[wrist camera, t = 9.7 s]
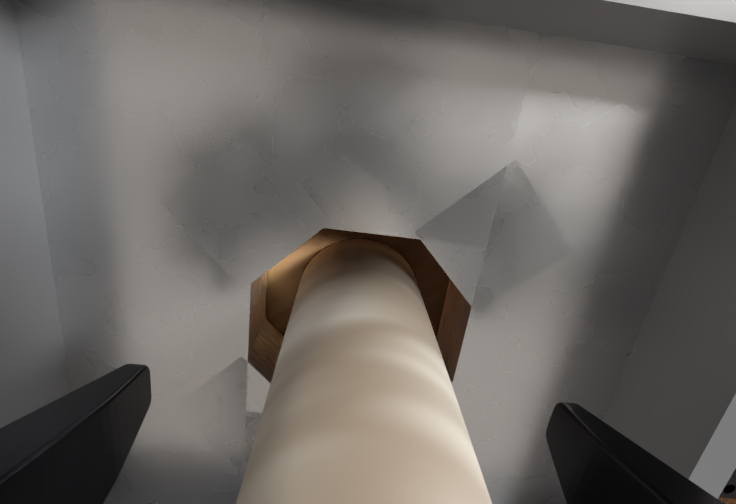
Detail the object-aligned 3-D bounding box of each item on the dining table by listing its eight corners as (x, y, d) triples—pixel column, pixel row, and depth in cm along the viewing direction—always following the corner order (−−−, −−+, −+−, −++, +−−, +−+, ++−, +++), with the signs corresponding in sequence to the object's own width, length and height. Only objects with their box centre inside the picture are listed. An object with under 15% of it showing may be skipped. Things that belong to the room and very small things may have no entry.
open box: (718, 39, 11) (1019, -9, 6) (538, 503, 18) (615, 670, 12) (35, -74, 10) (-301, -254, 5) (103, 473, 16) (-13, 647, 11)
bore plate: (671, 72, 12) (751, 66, 9) (522, 484, 17) (549, 545, 15) (82, -20, 10) (5, -53, 8) (127, 456, 16) (89, 518, 14)
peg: (427, 246, 13) (601, 601, 4) (406, 350, 15) (499, 794, 5) (303, 232, 13) (175, 578, 4) (294, 339, 14) (185, 792, 5)
